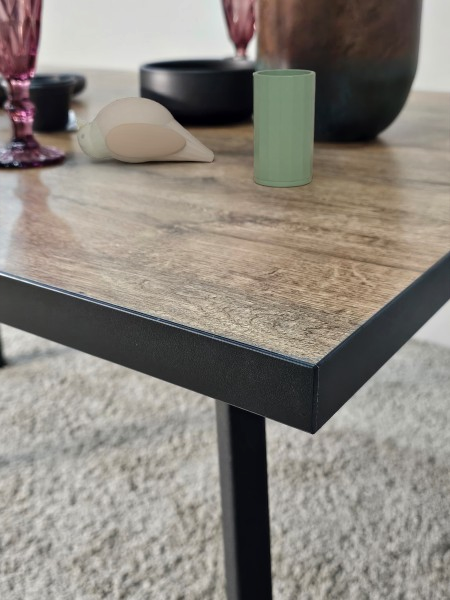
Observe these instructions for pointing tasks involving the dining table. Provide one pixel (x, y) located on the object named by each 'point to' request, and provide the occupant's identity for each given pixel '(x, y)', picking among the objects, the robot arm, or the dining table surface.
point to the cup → (283, 127)
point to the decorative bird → (139, 134)
